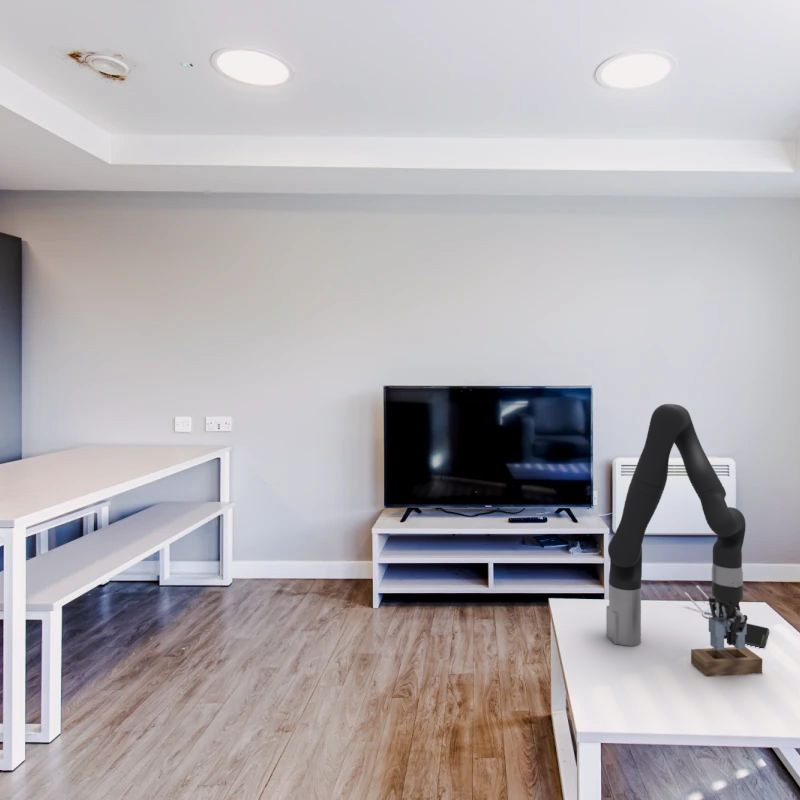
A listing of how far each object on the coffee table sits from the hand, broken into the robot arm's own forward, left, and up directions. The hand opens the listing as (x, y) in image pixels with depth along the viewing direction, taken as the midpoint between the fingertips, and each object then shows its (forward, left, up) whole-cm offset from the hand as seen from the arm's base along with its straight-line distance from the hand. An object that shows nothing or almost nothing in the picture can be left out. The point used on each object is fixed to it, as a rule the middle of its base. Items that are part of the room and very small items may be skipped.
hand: (727, 641), depth 157 cm
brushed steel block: (0, 0, -2) cm, 2 cm away
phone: (+20, +17, -8) cm, 27 cm away
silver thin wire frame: (+19, +37, -8) cm, 42 cm away
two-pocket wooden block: (0, 0, -8) cm, 8 cm away
